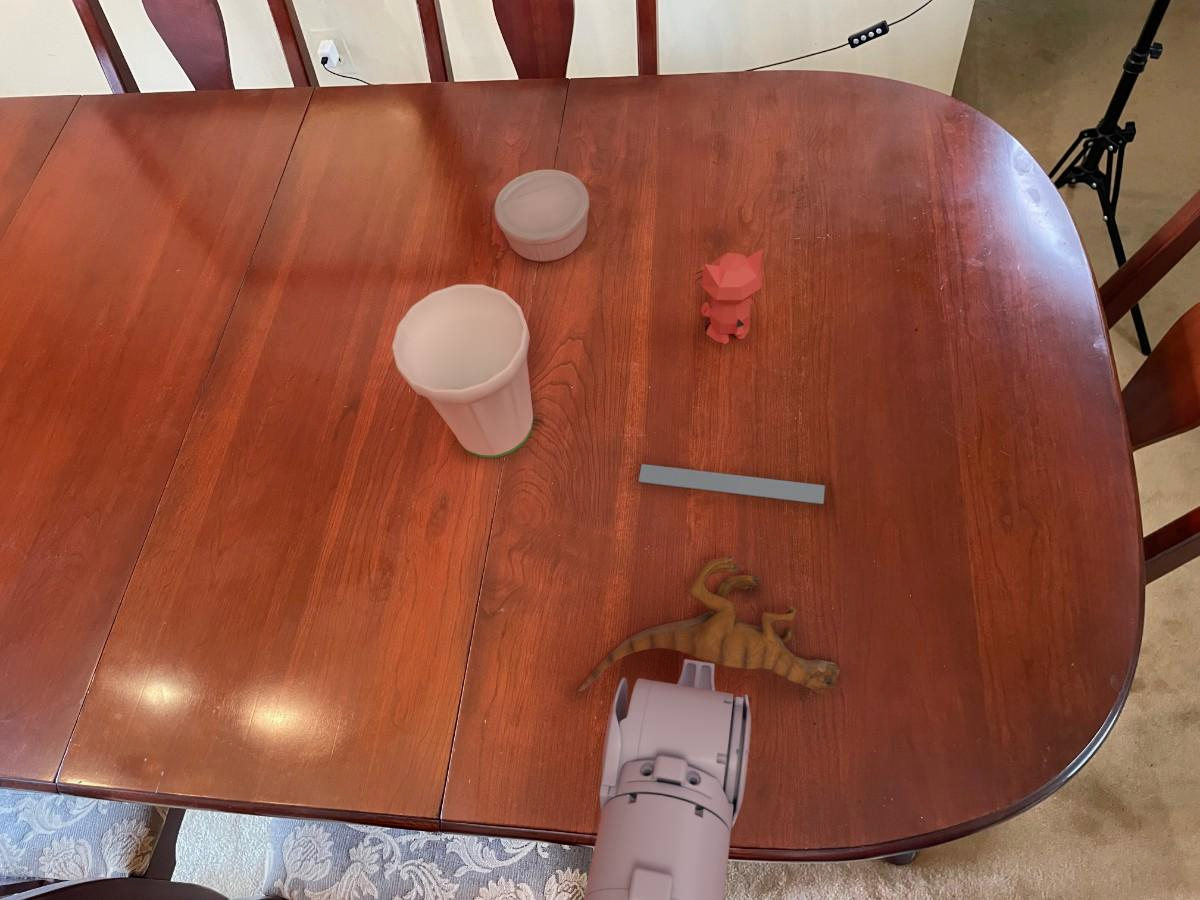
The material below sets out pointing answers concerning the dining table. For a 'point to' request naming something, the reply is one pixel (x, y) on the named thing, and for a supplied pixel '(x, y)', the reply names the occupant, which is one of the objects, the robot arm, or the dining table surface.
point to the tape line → (732, 484)
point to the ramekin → (543, 214)
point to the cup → (470, 365)
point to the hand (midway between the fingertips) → (687, 792)
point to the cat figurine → (731, 293)
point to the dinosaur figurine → (728, 636)
